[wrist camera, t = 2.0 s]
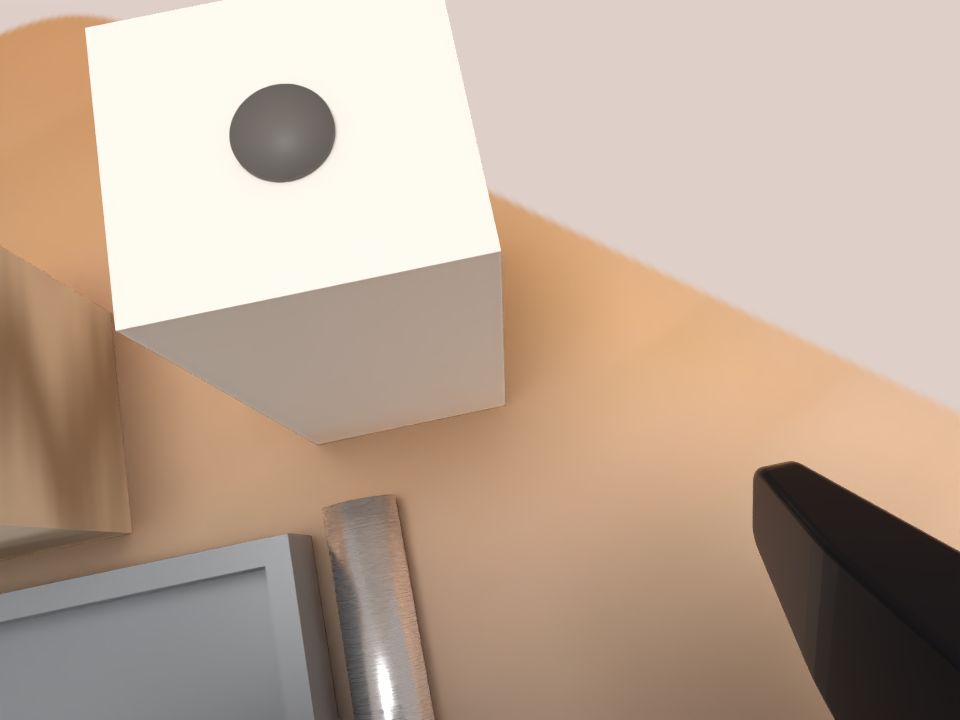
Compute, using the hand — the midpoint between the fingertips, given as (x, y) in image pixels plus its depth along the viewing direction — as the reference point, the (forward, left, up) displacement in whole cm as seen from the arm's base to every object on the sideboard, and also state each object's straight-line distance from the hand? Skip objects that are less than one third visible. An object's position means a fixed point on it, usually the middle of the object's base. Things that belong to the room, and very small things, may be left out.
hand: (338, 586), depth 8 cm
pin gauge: (-3, +1, -10) cm, 11 cm away
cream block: (+6, 0, -12) cm, 13 cm away
